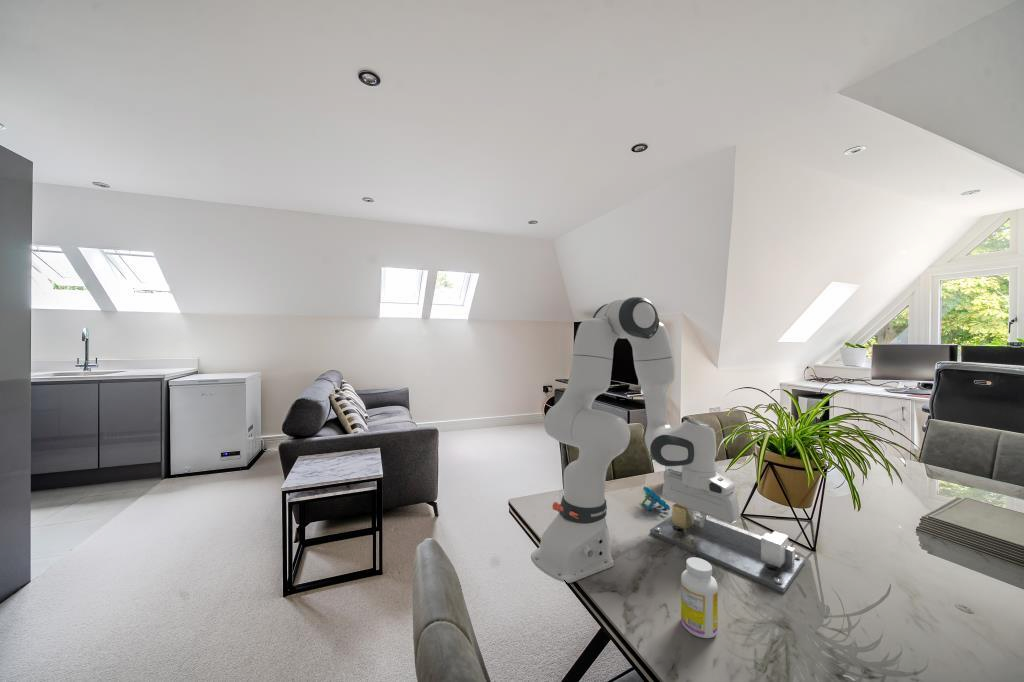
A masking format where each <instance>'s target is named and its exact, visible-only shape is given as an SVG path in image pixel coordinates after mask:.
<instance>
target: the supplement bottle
mask: <svg viewBox="0 0 1024 682" xmlns="http://www.w3.org/2000/svg"><path fill="white" fill-rule="evenodd" d="M685 564H686V565H685V568H686V569H685V570H683V572H682V573H681V575H680V621H681V624H682V626H683V627H684V629H685V630H687V632H689V633H690V634H692V635H693V636H695V637H698V638H700V639H701V638H703V639H711V638H714V637H716V635H717V634H718V629H719V628H718V627H719V625H718V624H719V623H718V616H719V615H718V614H719V613H718V612H719V611H718V608H719V607H718V605H719V604H718V602H719V601H718V600H719V599H718V598H719V597H718V596H719V593H718V591H719V589H718V588H719V586H718V582H717V580H716V579H715V577H714V576H712V575H713V567H712V565H711V563H710V562H709V561H707V560H705V559H704V558H700V557H693V556H692V557H688V558H687V559H686V561H685Z"/></svg>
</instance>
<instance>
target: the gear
mask: <svg viewBox="0 0 1024 682" xmlns="http://www.w3.org/2000/svg"><path fill="white" fill-rule="evenodd" d="M643 491H644V494H645V496H644V499H643V501H642V502H641V504H642V505H645V503H646V502H647V501H649V504H648V505H647V507H646V511H650V510H651V508H652V507H653V506H654V505H656V504H657V503H658V505H659V506H661V507H663V508H664V509H666V510H667V511H670V510H671V506H669V504H667V502H666V500H665V499H662V498H661V497H660V495H658V494H656V493H655V491H653V489H650V488H649V487H647V486H645V485H644V487H643Z"/></svg>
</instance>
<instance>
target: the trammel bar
mask: <svg viewBox="0 0 1024 682" xmlns="http://www.w3.org/2000/svg"><path fill="white" fill-rule="evenodd" d="M695 514H696V516H697V517H698V518H700V519H701V518H702V517H703V516H701V515H700V512H695ZM671 516H673V505H672V506H671ZM690 527H692V528H695V529H697V530H700V531H702V532H705V533H708V534H710V535H713V536H715V537H718V538H720V539H723V540H725V541H728V542H730V543H733V544H735V545H738V546H740V547H743V548H745V549H748V550H750V551H753V552H755V553H758V554H760V555H761V560H763V561H765V562H768V563H770V567H771V568H773V569H775V566H778V567H781V566H782V564H786V565H788V566H791V567H793V565H794V563H795V554H796V551H795V549H796V548H795V547H792V546H789V545H788V544H789V535H787V534H784V533H781V532H779V531H776V530H773V532H772V533H769V532H765V533H764V534H763V535H759V534H757V533H754V532H752V531H748V530H747V529H743V528H740V527H737V526H735V525H731V524H730V523H727V522H725V521H722V520H718V519H716V518H714V517H711V516H708V517H707V518H706V519H705V520H704V527H703V528H701V527H699V526H696V525H694V524H692V525H691V526H690Z"/></svg>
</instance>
